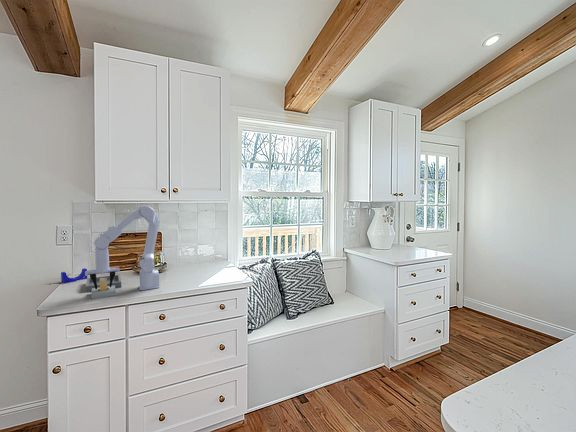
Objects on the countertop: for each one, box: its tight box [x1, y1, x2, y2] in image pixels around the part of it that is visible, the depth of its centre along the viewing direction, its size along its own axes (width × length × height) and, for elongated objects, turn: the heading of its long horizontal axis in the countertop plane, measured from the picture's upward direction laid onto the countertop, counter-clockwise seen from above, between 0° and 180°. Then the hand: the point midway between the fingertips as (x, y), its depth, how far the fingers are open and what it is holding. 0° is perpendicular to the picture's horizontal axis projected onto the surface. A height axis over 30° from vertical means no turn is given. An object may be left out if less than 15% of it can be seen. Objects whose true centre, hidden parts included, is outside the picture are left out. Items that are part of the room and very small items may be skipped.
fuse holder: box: [90, 286, 117, 300], centre depth 149 cm, size 10×10×2 cm
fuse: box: [100, 278, 107, 291], centre depth 149 cm, size 3×3×8 cm
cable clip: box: [60, 267, 88, 285], centre depth 174 cm, size 12×4×6 cm, turn 142°
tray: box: [84, 273, 122, 293], centre depth 165 cm, size 16×18×3 cm
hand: (103, 287), depth 149 cm, fingers open, 5 cm apart
